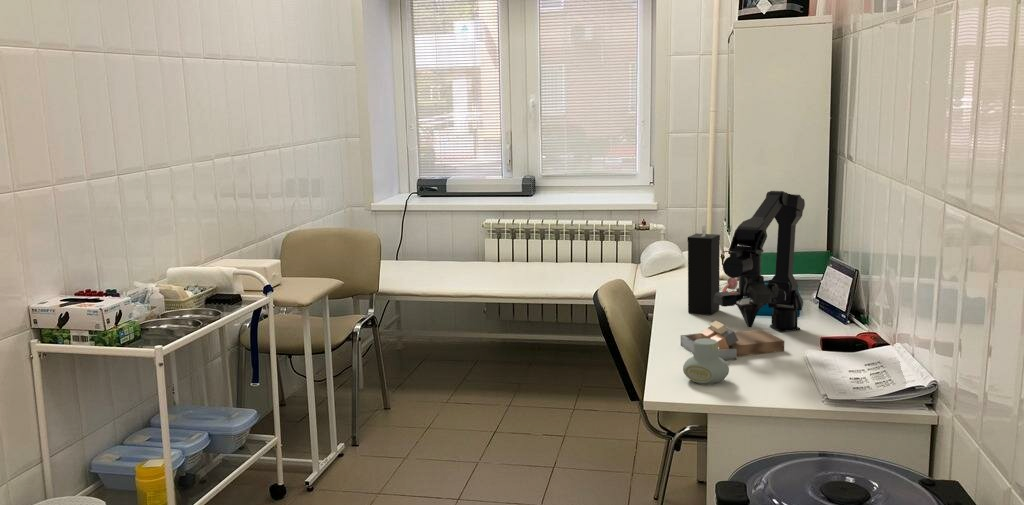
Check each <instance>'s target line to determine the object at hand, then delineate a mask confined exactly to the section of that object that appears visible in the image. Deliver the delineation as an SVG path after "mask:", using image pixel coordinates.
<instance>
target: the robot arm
mask: <svg viewBox="0 0 1024 505" xmlns="http://www.w3.org/2000/svg"><path fill="white" fill-rule="evenodd" d="M805 206H806V202H805V199H804V198H803V197H802V195H800V194H791V193H789V192H786V191H783V190H770V191H767V193H766V195H765V198H764V199H763V201H762V202H761V203H760V205H759V206H758V208H757V210H756V211H755V212H754V214H752V216H751V217H750V218H748V219H746V220H743V221H742V222H741V223H740V224H739V225H738V226H737V227H736V229H735V231H734V234H733V237H732V240H731V242H730V246H729V248H728V249H729V250H728V251H729V256H728V257H726V258H725V259H724V261H723V263H722V270H723V272H724V274H725V275H726V276H727V277H728V278H739V281H738V287H736V292H738V293H739V294H732V293H730V292H731V291H728V290H726V292H722V291H719V292H716V294H715V295H714V303H716V304H719V306H721V307H726V308H727V307H734V306H737V307H738V310H739V311H740V313H741V316H742V319H743V320H744V323H745V325H746V328H748V329H749V328H750V329H751V328H752V327H753V325H754V322H755V320H756V318H757V314H758V313H759V311H760V309H762V307H763V306H767V305H768V308H769V309H770V308H771V309H772V313H771V324H769V327H770V328H772V329H775V330H776V331H779V332H780V333H781V332H790V331H800V330H801V327H800V326H798V319H799V318H798V312H799V311H803V306H804V300H803V298H802V296H801V294H800V292H799V284H798V282H797V280H796V278H795V276H794V275H793V274H794V262H795V261H794V260H795V259H794V257H795V245H796V244H795V242H796V227H797V224H798V223H799V221H800V220H801V219H802V217H803V213H804V210H805ZM774 219H775V221H776V223H777V225H778V226H777V242H776V243H777V244H776V259H775V261H776V262H775V274H774V275H773V277H772V278H771V279H770V280H769V281H768V282H767V284H765V279H764V275H762V253H764V249H763V248H764V245H765V242H766V241H767V238H768V233H767V230H768V228H769V226H770V225H771V223H772V222H773V220H774Z"/></svg>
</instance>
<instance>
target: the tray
mask: <svg viewBox="0 0 1024 505" xmlns="http://www.w3.org/2000/svg"><path fill="white" fill-rule="evenodd" d="M697 339H702V335H701V333H699V332H698V333H689V334H681V335H680V347H682V348H683V347H684V349H685V350H687V351H688V352H690V353H691V352H692V353H691V354H693V352H694V341H695V340H697ZM718 357H720V358H721V359H723V360H724V361H725V362H729V361H731V362H732V361H737V360H738V359H737V349H736V348H731V349H722V350H718Z"/></svg>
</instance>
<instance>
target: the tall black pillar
mask: <svg viewBox="0 0 1024 505" xmlns="http://www.w3.org/2000/svg"><path fill="white" fill-rule="evenodd" d="M701 230H702V233H698V232H697V233H694V234H692V235H689V236H688V237H687V303H688V304H687V313H688V314H694V315H695V314H696V315H704V316H705V315H706V316H712V315H713V314H716V313H717V312H718V311H720V305H719V304H716V303H714V295H715V294H716V292H720V288H719V287H720V286H719V285H720V257H721V256H720V255H721V254H720V250H721V249H720V242H721V241H720V240H721V234H714V233H706V232H707V226H706V225H701Z"/></svg>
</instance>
